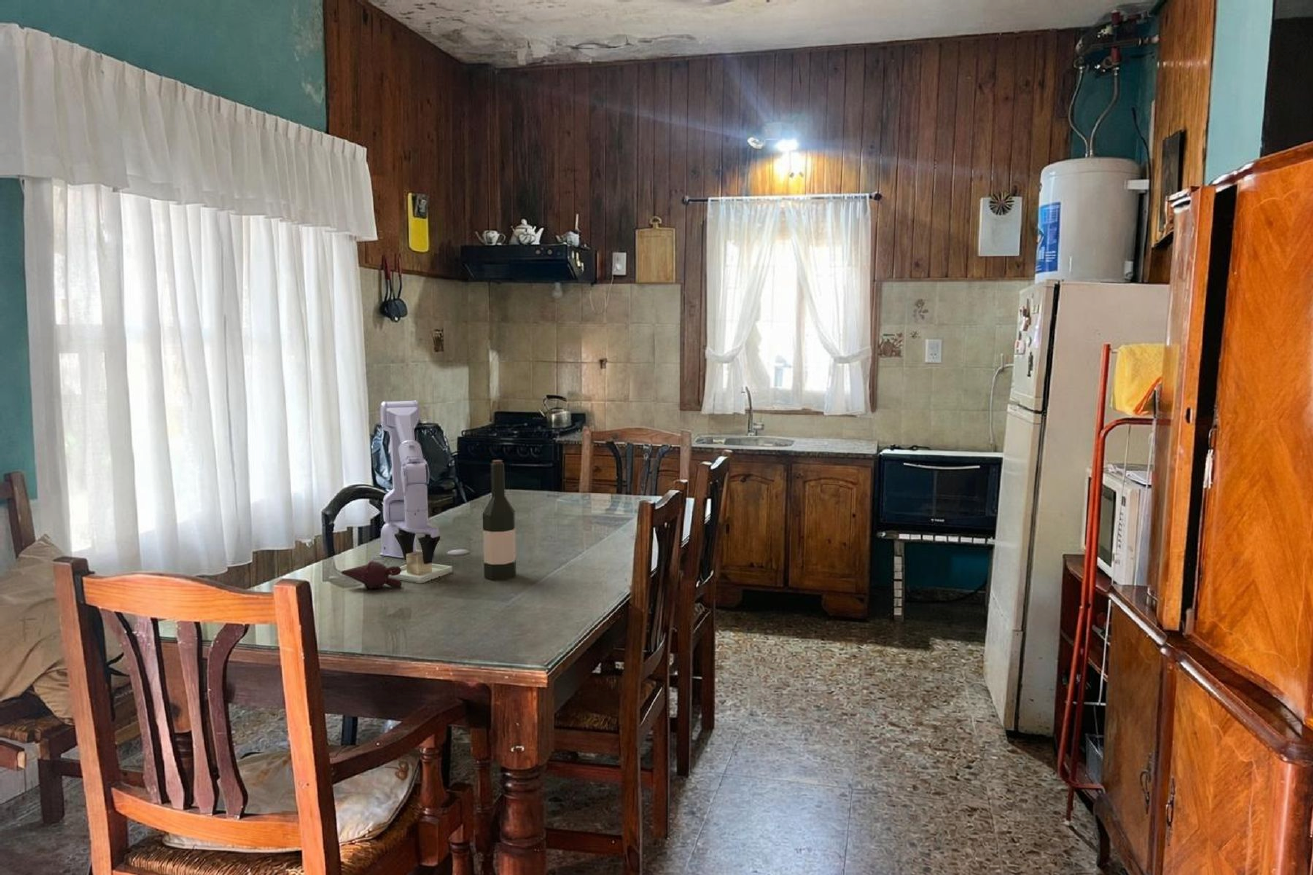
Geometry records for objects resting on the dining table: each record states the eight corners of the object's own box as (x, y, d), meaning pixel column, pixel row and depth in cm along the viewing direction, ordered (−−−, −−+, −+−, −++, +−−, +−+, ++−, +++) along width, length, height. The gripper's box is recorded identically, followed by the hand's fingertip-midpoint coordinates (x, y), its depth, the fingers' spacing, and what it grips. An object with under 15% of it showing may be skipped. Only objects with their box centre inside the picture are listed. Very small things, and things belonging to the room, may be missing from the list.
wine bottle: (522, 573, 223) (519, 459, 220) (506, 581, 216) (503, 463, 212) (494, 570, 226) (491, 457, 223) (477, 579, 218) (474, 462, 215)
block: (406, 572, 222) (406, 553, 222) (420, 569, 226) (420, 550, 225) (418, 575, 220) (417, 556, 219) (432, 571, 223) (431, 552, 223)
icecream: (334, 567, 206) (395, 572, 206) (346, 552, 213) (406, 557, 213) (336, 592, 209) (396, 597, 208) (348, 576, 216) (407, 582, 215)
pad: (442, 554, 244) (442, 553, 244) (456, 549, 250) (456, 548, 250) (459, 556, 242) (459, 555, 242) (473, 551, 247) (473, 550, 247)
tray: (384, 577, 220) (384, 572, 220) (416, 566, 231) (416, 561, 230) (420, 583, 215) (420, 577, 214) (452, 571, 225) (452, 566, 225)
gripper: (447, 509, 220) (449, 561, 221) (410, 504, 228) (412, 554, 230) (425, 514, 214) (427, 567, 216) (388, 508, 222) (390, 559, 224)
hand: (418, 561), depth 222 cm, fingers open, 7 cm apart
